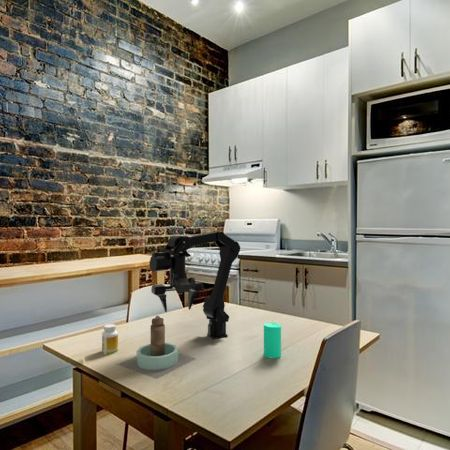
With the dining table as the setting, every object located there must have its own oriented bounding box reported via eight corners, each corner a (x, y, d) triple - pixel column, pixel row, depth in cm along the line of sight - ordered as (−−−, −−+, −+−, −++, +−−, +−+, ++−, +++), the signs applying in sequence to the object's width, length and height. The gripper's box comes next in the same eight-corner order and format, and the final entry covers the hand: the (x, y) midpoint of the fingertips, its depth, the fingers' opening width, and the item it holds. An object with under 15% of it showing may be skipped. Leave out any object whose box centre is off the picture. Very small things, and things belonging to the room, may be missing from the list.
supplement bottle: (121, 351, 125) (121, 324, 125) (111, 356, 120) (111, 328, 120) (108, 349, 127) (108, 322, 127) (98, 354, 122) (98, 327, 122)
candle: (270, 359, 118) (270, 323, 118) (260, 353, 123) (260, 319, 123) (284, 356, 120) (284, 321, 120) (274, 350, 126) (274, 317, 126)
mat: (158, 349, 127) (158, 347, 127) (196, 360, 117) (196, 358, 117) (117, 366, 112) (117, 364, 112) (157, 380, 102) (157, 378, 102)
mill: (165, 356, 117) (165, 313, 117) (163, 361, 112) (163, 317, 112) (152, 356, 117) (152, 313, 117) (149, 361, 112) (149, 317, 112)
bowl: (171, 351, 123) (171, 340, 123) (182, 365, 112) (182, 353, 112) (133, 357, 118) (133, 346, 118) (141, 372, 106) (141, 360, 106)
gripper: (158, 273, 120) (158, 319, 120) (209, 270, 127) (209, 313, 128) (151, 269, 130) (151, 311, 130) (198, 266, 138) (198, 306, 138)
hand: (177, 310), depth 131 cm, fingers open, 9 cm apart
